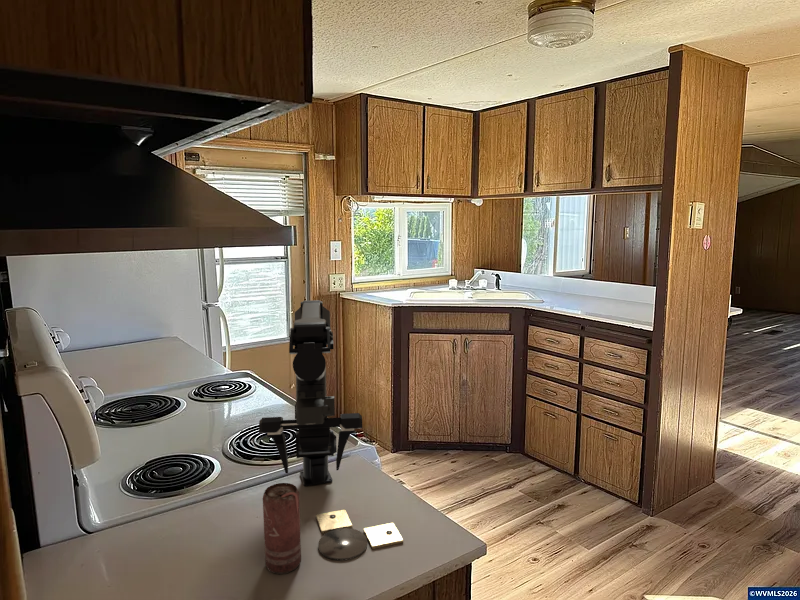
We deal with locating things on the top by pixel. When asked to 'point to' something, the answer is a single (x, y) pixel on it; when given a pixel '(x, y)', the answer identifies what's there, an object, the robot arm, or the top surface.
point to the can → (282, 528)
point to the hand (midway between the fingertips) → (312, 471)
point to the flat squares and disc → (351, 536)
